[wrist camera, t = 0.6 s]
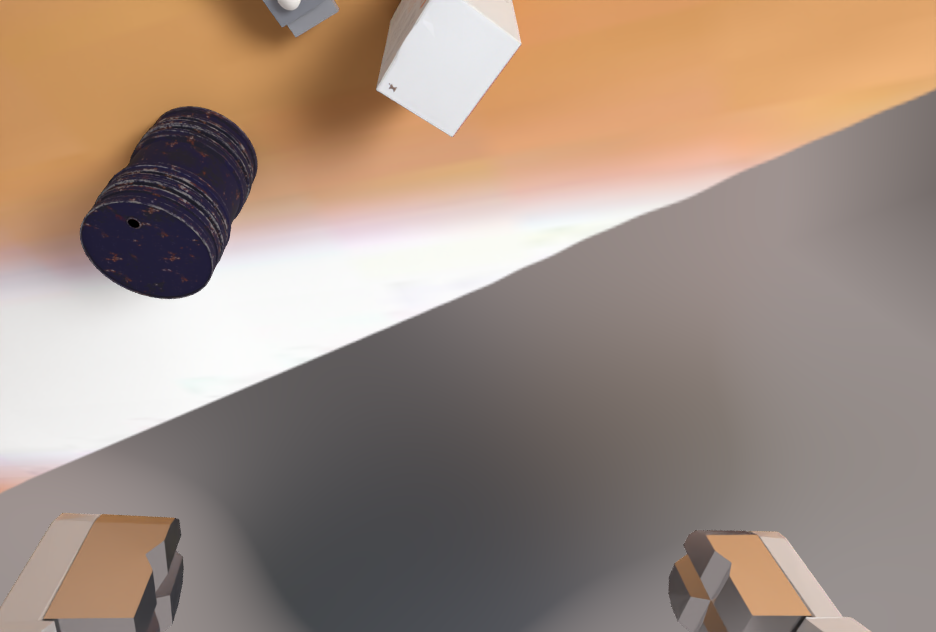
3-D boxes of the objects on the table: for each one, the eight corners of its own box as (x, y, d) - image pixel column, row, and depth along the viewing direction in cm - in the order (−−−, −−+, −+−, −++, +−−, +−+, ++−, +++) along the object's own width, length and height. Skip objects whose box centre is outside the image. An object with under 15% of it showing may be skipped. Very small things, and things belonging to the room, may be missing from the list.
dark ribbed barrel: (269, 198, 61) (229, 299, 50) (171, 199, 61) (111, 300, 50) (243, 104, 54) (190, 198, 43) (133, 104, 54) (53, 199, 43)
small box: (453, 65, 52) (452, 141, 43) (388, 21, 49) (372, 91, 40) (511, -20, 47) (524, 44, 38) (443, -75, 45) (439, -20, 35)
